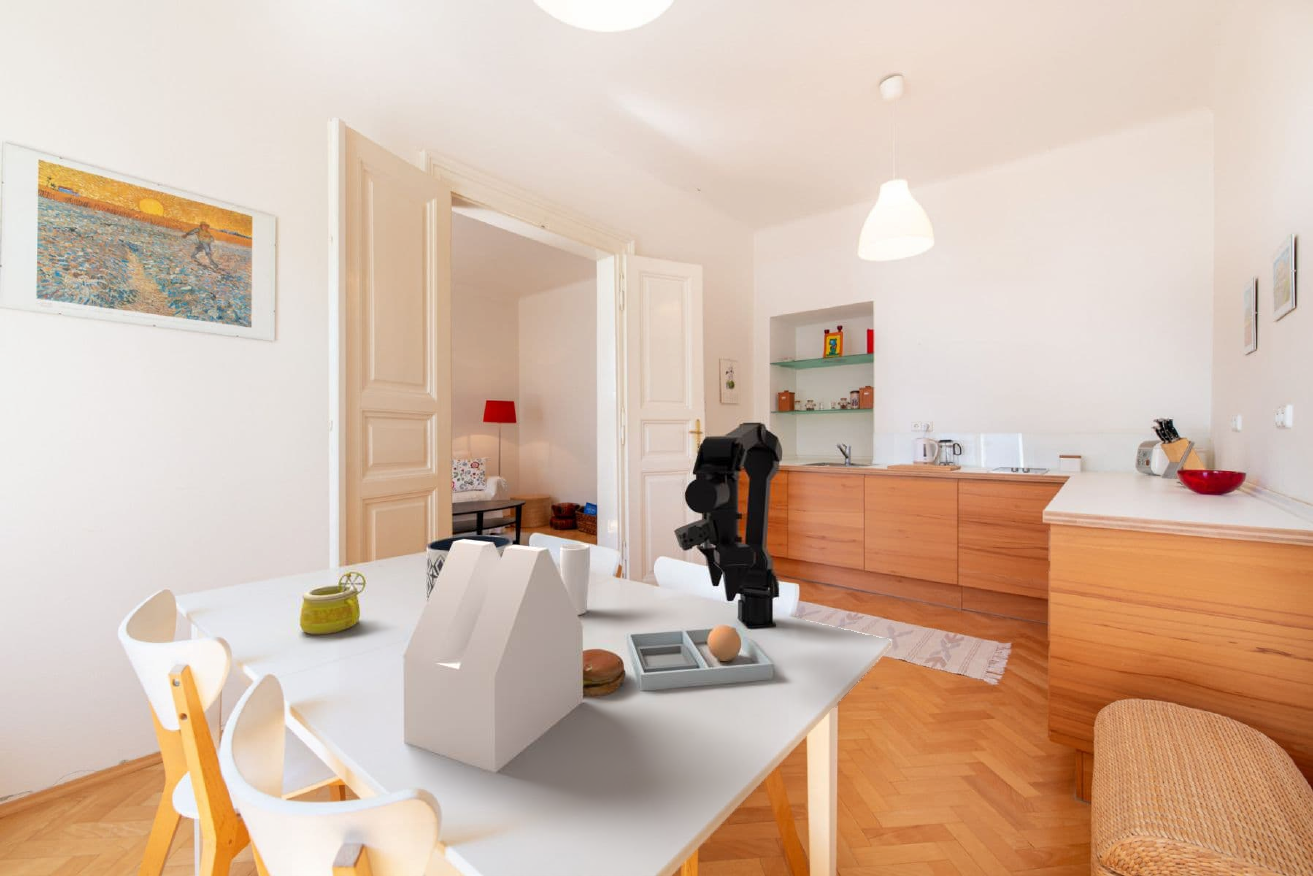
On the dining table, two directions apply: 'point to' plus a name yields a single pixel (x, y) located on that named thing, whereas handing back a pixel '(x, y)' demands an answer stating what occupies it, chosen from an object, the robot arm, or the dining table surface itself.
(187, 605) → the dining table surface
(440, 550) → the planter
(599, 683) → the burger
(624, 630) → the dining table surface
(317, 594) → the mug
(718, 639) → the ball
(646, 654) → the square tray
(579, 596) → the drinking glass
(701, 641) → the two compartment tray
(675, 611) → the dining table surface
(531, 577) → the slotted house block
